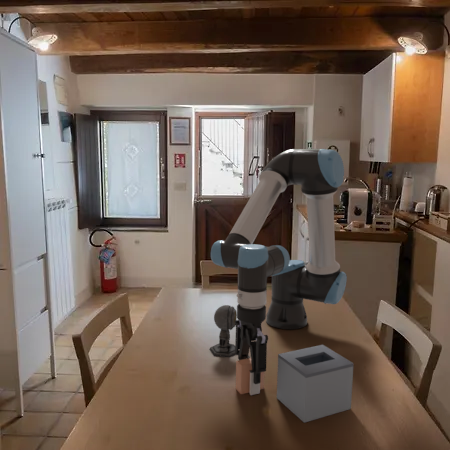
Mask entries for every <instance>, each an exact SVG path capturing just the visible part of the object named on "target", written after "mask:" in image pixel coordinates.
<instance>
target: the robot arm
mask: <svg viewBox="0 0 450 450" xmlns="http://www.w3.org/2000/svg"><path fill="white" fill-rule="evenodd" d="M344 176H345V167H344V161H343V158H342V157H341V155H340V154H339V152H338V151H336V150H335V149H326V148H292V149H291V148H290V149H287V150H285V151H283V152H281V153H279V154H278V155H276V156H275V157H273V158H272V159H271V160H270V161H269V162H268V163H267V164H266V165H265V167H264V168H262V171H261V172H260V174H259V175H258V181H259V182H258V183H257V185H256V188H255V189H254V190H253V192H252V194H251V196H250V198H249V199H248V201H247V203H246V205H245V206H244V207H243V209H242V211H241V213H240V214H239V216H238V218H237V220H236V222H235V223H234V225H233V227H232V229H231V231H230V232H229V234H228V235H227V237H226V238H225V240H224V239H222V240H217V241H215V242H214V243H213V244H212V245H211V250H210V259H211V261H212V263H213V264H214V265H216V266H218V267H219V266H220V267H222V268H226V269H228V268H229V269H233V270H234V269H236V270H237V294H236V297H237V301H236V302H237V306H236V313H237V317H236V320H235V342H234V343H235V344H234V345H235V354H236V356H237V359H238V360H243V359H248V358H251V364H252V370H250V392H249V395H250V396H254V395H257V394H261V390H260V382H261V380H260V379H261V372H265V373H266V371H267V358H268V357H267V355H268V354H267V353H268V351H267V346H268V340H269V336H268V334H264V333H263V329H262V323H263V322H264V321H265V320H266V324H267V325H268V326H271V327H273V328H277V329H280V330H281V329H282V330H299V329H302V328H304V327H306V326H307V325H308V315H307V312H306V309H305V305H304V300H309V301H314V302H318V303H322V304H323V303H324V304H325V305H326V304H329V305H336V304H338V303H339V302H340V301H341V300H342V298H343V296H344V294H345V289H346V285H347V280H348V279H347V278H348V277H347V273H346V272H344V271H341V265H340V263H339V261H337V260H336V241H335V240H336V238H335V235H336V234H335V210H334V209H335V208H334V206H335V205H334V195H335V194H336V193H337V192H338V189H339V187H341V186H342V184H343V183H344ZM291 185H297V186H300V188H301V189H300V190H301V193H302V194H303V196H305V197H306V212H307V229H308V231H307V232H308V249H309V250H308V251H309V262H308V263H305V261H304V260H300V259H291V258H290V254H289V251H288V250H287V249H286V248H285V247H284V246H282V245H278V244H276V245H274V244H273V245H270V246H265V245H262V244H255V243H254V242H255V240H256V238H257V236H258V234H259V232H260V231H261V229H262V228H263V225H264V224H265V221H266V220H267V217H268V215H269V214H270V213H271V211H272V208H273V206H274V205H275V203H276V201H277V200H278V198H279V196H280V195H281V193H284V192H285V191H286V189H287V187H288V186H291ZM270 277H271V302H270V304H269V307H268V310H267V306H266V305H267V291H268V290H267V288H268V287H267V286H268V285H267V283H268V278H270Z"/></svg>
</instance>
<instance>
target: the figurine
mask: <svg viewBox="0 0 450 450" xmlns="http://www.w3.org/2000/svg"><path fill="white" fill-rule="evenodd" d="M213 315H214V316H213V319H214V320H213V321H214V324H215V325H216V327H218V329H220V332H219V336H218V339H219V343H217V344H214V345H212V346H211V347H210V348H209V351H210V353H211V354H212V356H213V357H220V358H231V357H234V356H235V355H236V354H235V344H233V343H230V339H231V334H230V331H231V330H233V329H234V328H236V325H235V320H237V309H235V307H234V306H233V305H232V306H231V305H228V304H227V305H226V304H224V305H221V306H219V307H218V308H217V309H216V310H215V312H214V314H213ZM236 356H237V355H236Z"/></svg>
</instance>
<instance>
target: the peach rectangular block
mask: <svg viewBox="0 0 450 450" xmlns="http://www.w3.org/2000/svg"><path fill="white" fill-rule="evenodd" d="M235 361H236V362H235V390H236V391H237V392H238V393H239V394H240V395H244V394H248V393H250V370H252V364H251V357H250V358H248V359H243V360H239V359H238V360H235ZM265 373H266V371H265V372H261V379H260V380H261V382H260V391H261V390H264V389H265V375H266V374H265Z"/></svg>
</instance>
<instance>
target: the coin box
mask: <svg viewBox="0 0 450 450" xmlns="http://www.w3.org/2000/svg"><path fill="white" fill-rule="evenodd" d="M276 375H277V378H276V381H277V383H276V384H277V385H276V399H277V400H278V401H280V403H282V404H283V405H284V406H285V407H286V408H287V409H288V410H290V412H291V413H293V414H294V415H295V416H296V417H297V418H298V419H299V420H300V421H302V422H303V423H307V422H312V421H315V420H318V419H322V418H325V417H327V416H332V415H334V414H338V413H341V412H345V411H347V410H348V411H349V410H351V409H352V393H353V378H354V377H353V376H354V362H352V361H350V360H349V359H347V358H346V357H344V356H342V355H341V354H339V353H337V352H335V351H334V350H332V349H331V348H329V347H328V346H326V345H324V344H319V345H316V346H311V347H310V346H309V347H305V348H300V349H297V350H292V351H291V350H290V351H287V352H282V353H278V354H277V374H276Z"/></svg>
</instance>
